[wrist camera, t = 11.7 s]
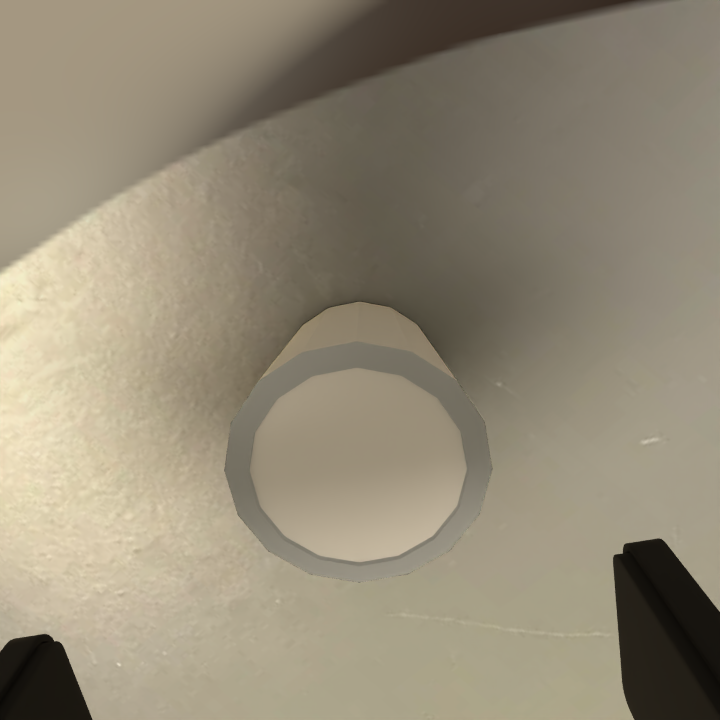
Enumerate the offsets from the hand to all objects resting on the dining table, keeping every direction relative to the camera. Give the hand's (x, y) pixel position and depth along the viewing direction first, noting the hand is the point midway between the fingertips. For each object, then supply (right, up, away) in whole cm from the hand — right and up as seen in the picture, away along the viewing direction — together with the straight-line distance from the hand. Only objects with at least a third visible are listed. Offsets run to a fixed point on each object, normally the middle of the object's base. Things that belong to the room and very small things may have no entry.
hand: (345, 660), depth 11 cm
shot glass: (0, +4, +13) cm, 13 cm away
